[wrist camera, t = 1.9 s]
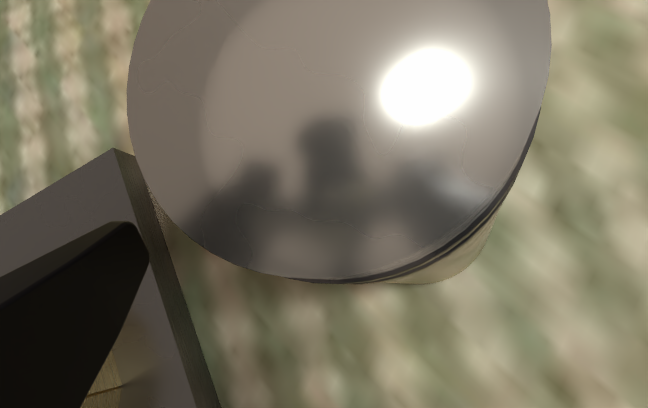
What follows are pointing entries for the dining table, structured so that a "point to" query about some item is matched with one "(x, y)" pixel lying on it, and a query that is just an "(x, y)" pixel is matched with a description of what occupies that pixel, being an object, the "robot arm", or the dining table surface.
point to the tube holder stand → (151, 299)
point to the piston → (337, 128)
